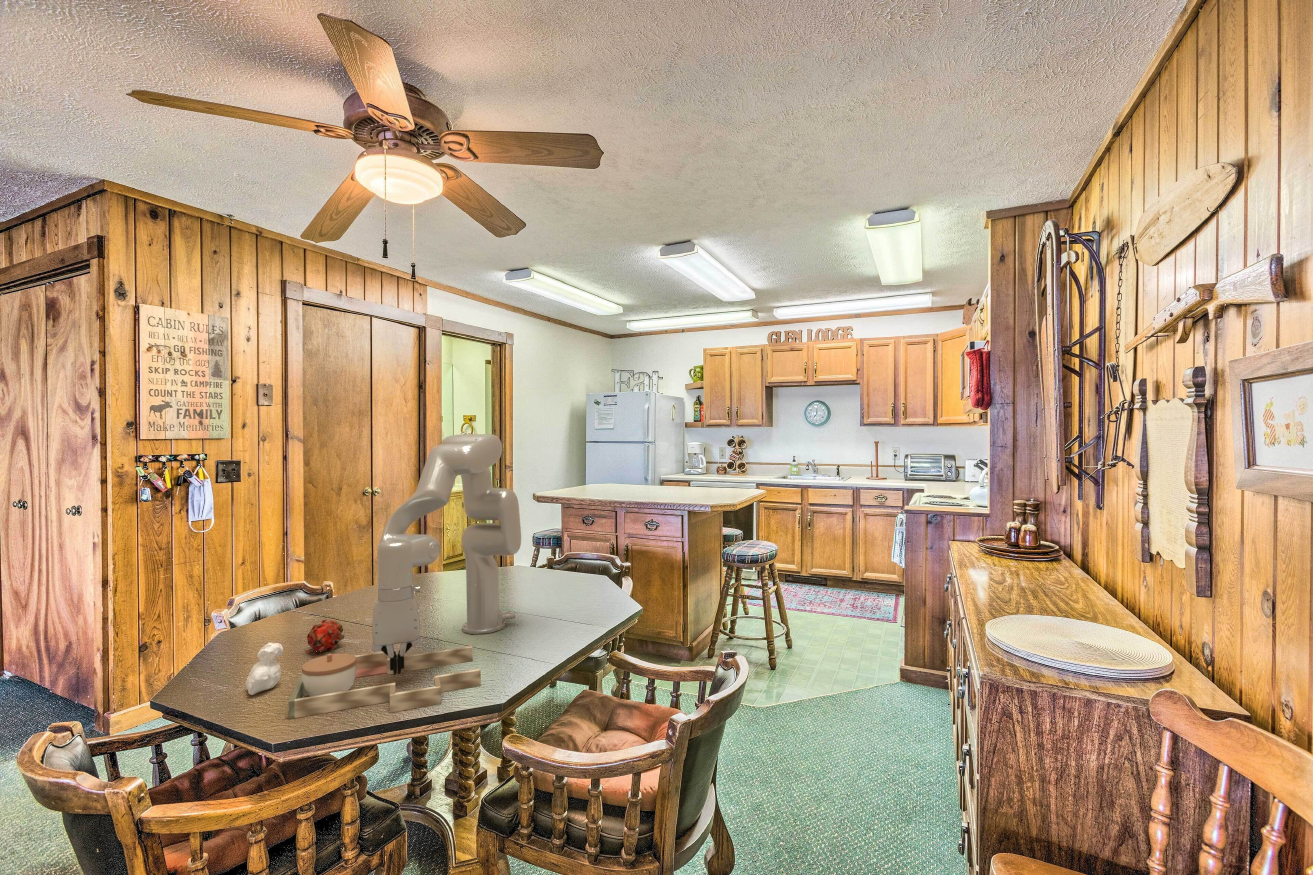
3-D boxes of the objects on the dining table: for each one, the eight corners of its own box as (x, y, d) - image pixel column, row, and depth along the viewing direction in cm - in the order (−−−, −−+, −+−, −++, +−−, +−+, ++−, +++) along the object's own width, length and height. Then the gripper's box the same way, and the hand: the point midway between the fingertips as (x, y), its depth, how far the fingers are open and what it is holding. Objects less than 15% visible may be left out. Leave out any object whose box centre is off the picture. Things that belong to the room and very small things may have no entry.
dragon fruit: (338, 646, 169) (320, 668, 158) (311, 631, 168) (291, 652, 156) (355, 623, 169) (338, 643, 157) (328, 607, 168) (309, 627, 156)
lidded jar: (318, 711, 125) (317, 666, 125) (292, 700, 130) (292, 657, 130) (366, 692, 134) (366, 651, 134) (340, 683, 139) (340, 643, 139)
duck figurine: (260, 707, 132) (295, 662, 135) (227, 692, 130) (264, 646, 132) (270, 687, 143) (302, 646, 146) (240, 672, 140) (273, 631, 143)
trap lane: (469, 652, 158) (469, 639, 158) (484, 695, 131) (483, 679, 131) (306, 677, 143) (306, 662, 143) (283, 731, 116) (283, 713, 116)
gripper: (429, 586, 144) (431, 661, 144) (361, 593, 138) (362, 672, 138) (430, 593, 137) (432, 672, 137) (358, 601, 131) (360, 684, 131)
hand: (397, 672), depth 138 cm, fingers closed
